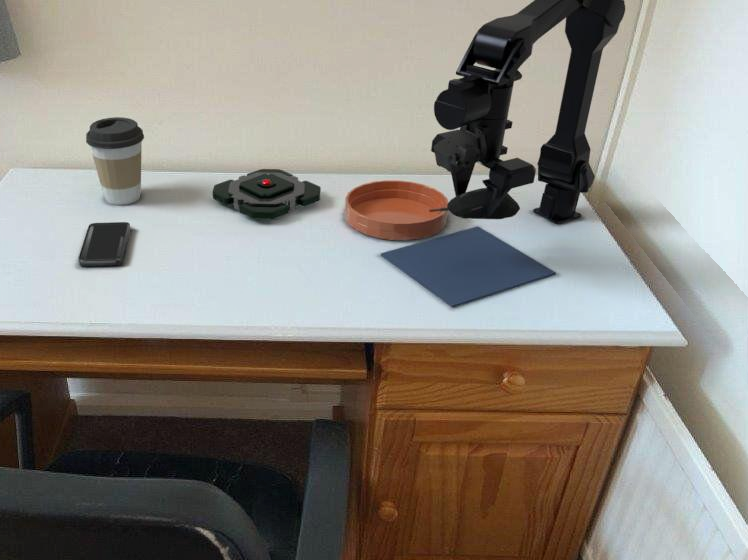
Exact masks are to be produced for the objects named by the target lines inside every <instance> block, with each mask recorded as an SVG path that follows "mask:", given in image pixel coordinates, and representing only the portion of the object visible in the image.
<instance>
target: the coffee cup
mask: <svg viewBox="0 0 748 560" xmlns="http://www.w3.org/2000/svg"><path fill="white" fill-rule="evenodd" d="M144 139H145V134H144V131H143V128H141V127H140V126H139V125H138V122H137V121H135V120H134V119H132V118H129V117H128V118H127V117H122V116H121V117H119V116H115V117H107V118H101V119H98V120H96V121H94V122H92V123H91V124H90V125H89V130H88V131H87V132H86V133H85V142H86V144H87V145H88V146H89V147H90V151H91V156H92V159H93V162H94V166H95V169H96V170H95V171H96V172H97V177H98V179H99V184H100V187H101V191H102V195H103V197H104V199H105V201H106V203H108V204H110V205H115V206H126V205H131V204H133V203H136V202H138V201H139V200H140V199H141V193H142V147H143V146H142V143H143V140H144Z"/></svg>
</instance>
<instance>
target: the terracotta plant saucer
mask: <svg viewBox="0 0 748 560" xmlns="http://www.w3.org/2000/svg"><path fill="white" fill-rule="evenodd" d="M344 200H345V201H344V219H345V220H344V221H346V222H347V224H348V225H349V226H350V227H351V228H353V229H355V230H356V231H357V232H359V233H361V234H364V235H366V236H369V237H372V238H377V239H381V240H389V241H413V240H419V239H425V238H427V237H431V236H433V235H435V234H437V233H439V232H441V231H442V230H443V229H444V228H445V227H446V225H447V223H448V222H447V221H448V215H449V210H447V211H441V212H440V211H434V212H430V211H429V210H431V209H440V208H443V207H444V208H445V207H447V204H448V203H449V202H450V201H449V198H448V197H446V195H445V194H444V193H442V192H441V191H440V190H437V189H435V188H434V187H431V186H429V185H426V184H423V183H418V182H414V181H408V180H396V179H395V180H390V179H389V180H377V181H376V180H375V181H371V182H367V183H363V184H360V185H358V186H356V187H354V188H352V189H350V191H348V192H347V194H346V196H345V199H344Z"/></svg>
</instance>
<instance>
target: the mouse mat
mask: <svg viewBox="0 0 748 560" xmlns="http://www.w3.org/2000/svg"><path fill="white" fill-rule="evenodd" d="M380 256H381V257H383V259H385V260H386V261H388V262H389V263H391V264H392V265H393V266H395V267H396V268H398V269H399V270H400V271H401V272H403V273H404V274H406V275H407V276H408V277H409V278H411V279H412V280H414V281H416V282H417V283H418V284H419V285H421V286H422V287H423V288H425V289H426V290H427V291H429V292H430V293H432V294H433V295H434V296H436V297H437V298H438V299H440V300H441V301H442V302H444V303H445V304H447V305H448V306H450V307H451V308H456V307H459V306H462V305H466V304H468V303H471V302H474V301H478V300H480V299H483V298H484V299H485V298H486V297H490V296H494V295H495V294H500V293H502V292H505V291H508V290H509V291H510V290H511V289H515V288H518V287H521V286H524V285H527V284H530V283H534V282H537V281H539V280H542V279H545V278H548V277H551V276H555V275H556V274H557V272H556V271H554V270H553V269H551V268H550V267H548V266H547V265H546V266H545V265H544V264H543V263H540V261H537V260H536V259H534V258H533V257H531V256H529V255H527V254H526V253H524V252H522V251H520V250H519V249H517V248H515V247H514V246H512V245H510V244H509V243H507V242H506V241H503V240H502V239H500V238H498V237H497V236H495V235H493V234H492V233H490V232H488V231H487V230H485V229H483V228H481V227H480V226H473V227H470V228H467V229H464V230H463V229H462V230H459V231H456V232H453V233H448V234H445V235H441V236H438V237H434V238H431V239H428V240H427V239H426V240H423V241H420V242H417V243H413V244H410V245H406V246H403V247H398V248H396V249H395V248H394V249H391V250H388V251H385V252H381V253H380Z"/></svg>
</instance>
